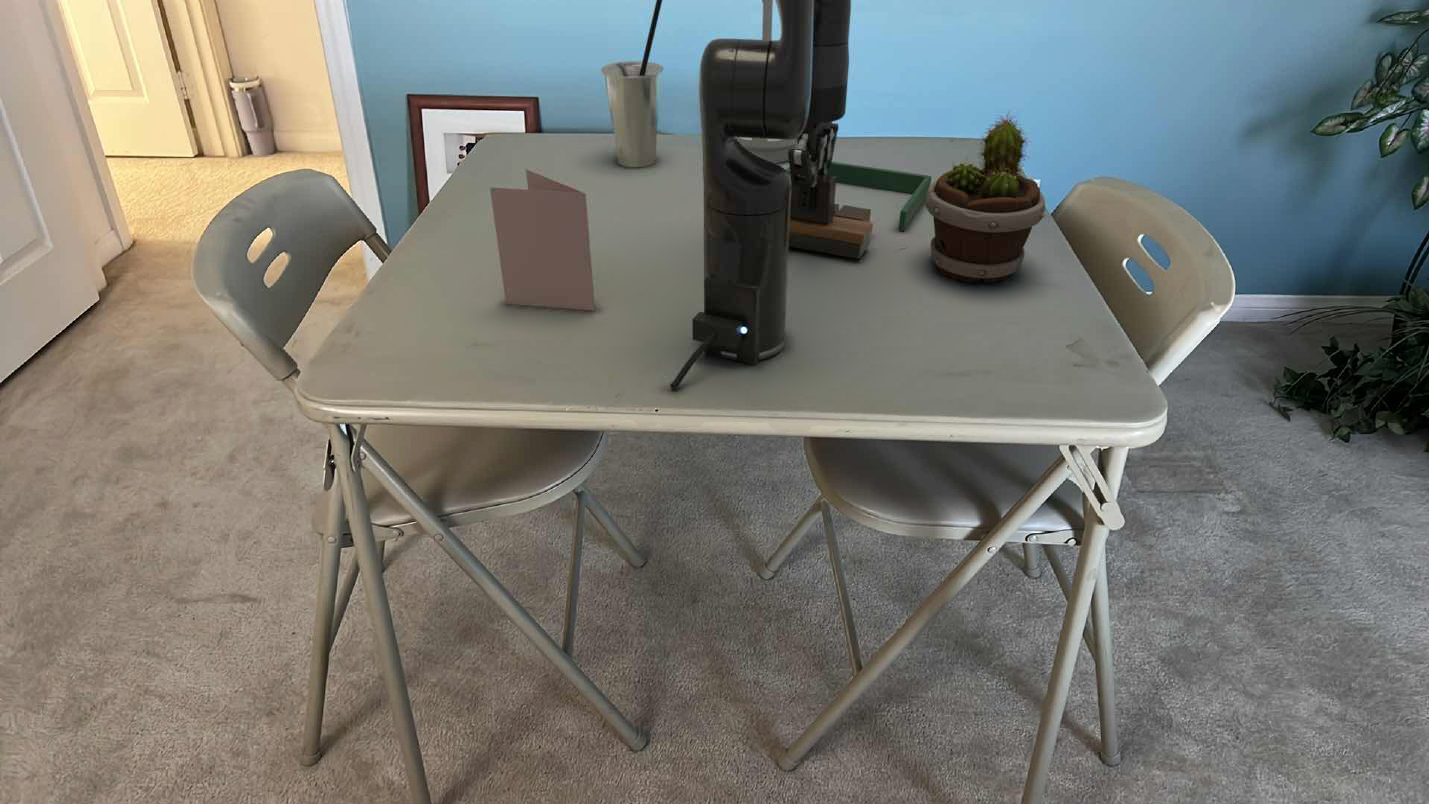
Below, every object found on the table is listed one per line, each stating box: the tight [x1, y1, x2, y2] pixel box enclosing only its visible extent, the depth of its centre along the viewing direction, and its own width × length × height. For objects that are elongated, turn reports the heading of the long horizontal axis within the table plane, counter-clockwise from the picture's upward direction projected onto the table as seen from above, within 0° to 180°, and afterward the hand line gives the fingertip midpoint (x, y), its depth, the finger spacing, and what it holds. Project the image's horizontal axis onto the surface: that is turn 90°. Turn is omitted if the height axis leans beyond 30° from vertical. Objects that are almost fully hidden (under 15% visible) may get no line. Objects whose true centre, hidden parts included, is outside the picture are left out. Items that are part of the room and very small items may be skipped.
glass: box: [600, 0, 665, 169], centre depth 152 cm, size 11×11×30 cm
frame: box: [785, 161, 932, 232], centre depth 143 cm, size 16×22×3 cm
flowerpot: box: [925, 109, 1046, 284], centre depth 119 cm, size 14×15×20 cm
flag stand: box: [737, 0, 796, 164], centre depth 155 cm, size 13×13×30 cm
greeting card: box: [489, 168, 596, 312], centre depth 112 cm, size 11×7×15 cm, turn 45°
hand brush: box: [789, 174, 874, 260], centre depth 127 cm, size 5×17×10 cm, turn 66°
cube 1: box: [835, 204, 872, 222], centre depth 131 cm, size 4×4×4 cm
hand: (810, 207), depth 127 cm, fingers closed on hand brush, 2 cm apart
